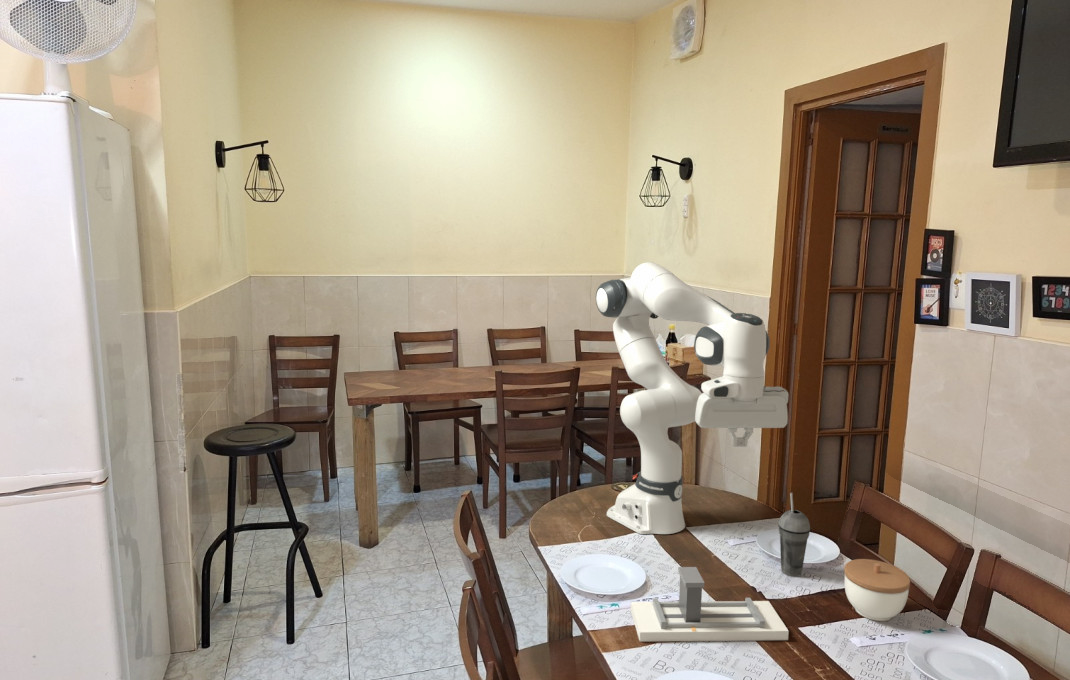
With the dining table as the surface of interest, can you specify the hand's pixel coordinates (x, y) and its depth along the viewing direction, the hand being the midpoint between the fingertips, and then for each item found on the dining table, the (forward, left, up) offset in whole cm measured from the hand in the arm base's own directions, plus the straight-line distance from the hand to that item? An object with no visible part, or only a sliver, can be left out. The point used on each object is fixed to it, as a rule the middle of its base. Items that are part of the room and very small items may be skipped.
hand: (739, 445), depth 151 cm
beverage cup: (+8, +14, -33) cm, 37 cm away
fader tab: (+2, -23, -31) cm, 38 cm away
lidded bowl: (+28, +10, -33) cm, 45 cm away
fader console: (+5, -20, -33) cm, 39 cm away
